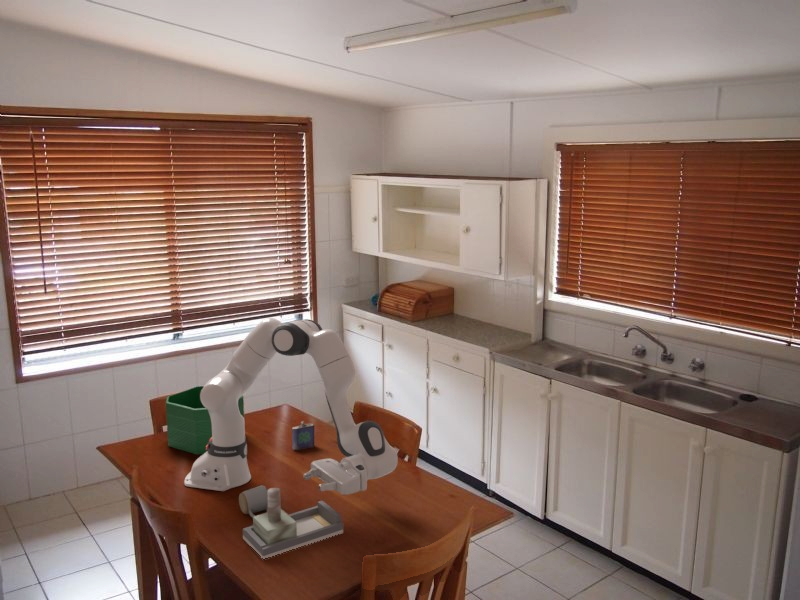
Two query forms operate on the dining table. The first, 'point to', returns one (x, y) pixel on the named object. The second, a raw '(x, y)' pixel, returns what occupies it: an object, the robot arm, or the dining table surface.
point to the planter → (190, 421)
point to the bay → (300, 530)
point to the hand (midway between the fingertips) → (312, 482)
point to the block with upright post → (274, 521)
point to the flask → (303, 436)
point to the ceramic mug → (254, 500)
